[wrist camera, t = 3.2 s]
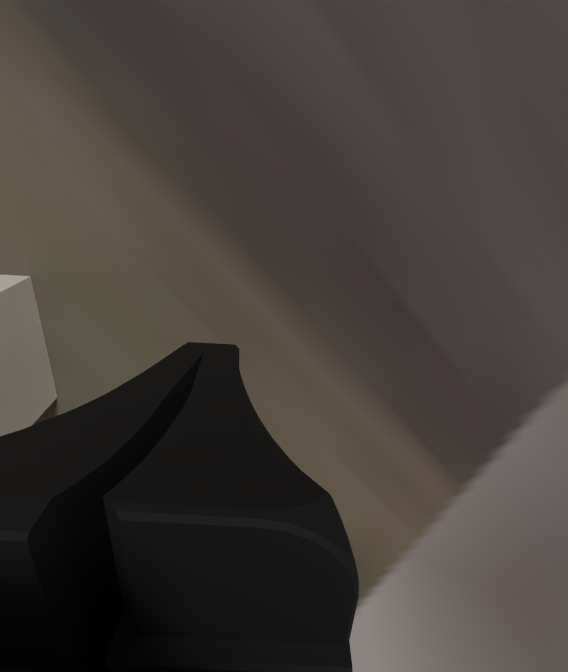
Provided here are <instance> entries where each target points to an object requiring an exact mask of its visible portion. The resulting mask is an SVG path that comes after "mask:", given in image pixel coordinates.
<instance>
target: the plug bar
mask: <svg viewBox="0 0 568 672" xmlns="http://www.w3.org/2000/svg"><path fill="white" fill-rule="evenodd" d="M56 398H57V394H56V390H55V385H54V381H53V376H52V372H51V367H50V363H49V358H48V354H47V349H46V345H45V340H44V336H43V331H42V327H41V322H40V318H39V313H38V309H37V304H36V299H35V295H34V290H33V286H32V281H31V277H30V276H14V275H0V436H3V435H6V434H9V433H12V432H15V431H19V430H21V429H24V428H27V427H30V426H32V425H33V424H34V423H35V422H36V420H37V419H38V418H39V417H40V416H41V415H42V414H43V413H44V412H45V410H46V409H47V408H48V407H49V406H50V405H51V404H52V403H53V402H54V401H55V399H56Z"/></svg>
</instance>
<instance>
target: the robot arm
mask: <svg viewBox="0 0 568 672" xmlns="http://www.w3.org/2000/svg"><path fill="white" fill-rule="evenodd" d="M358 590H359V584H358V573H357V568H356V564H355V560H354V556H353V553H352V549H351V546H350V543H349V539H348V536H347V533H346V531H345V528H344V525H343V523H342V520H341V518H340V515H339V513H338V510H337V508H336V506H335V503H334V501H333V499H332V497H331V495H330V494H329V493H328V492H327V491H326V490H324V489H323V488H322V487H321V486H319V485H318V484H317V483H316V482H315V481H313V480H312V479H311V478H310V477H308V476H307V475H306V474H305V473H303V472H302V471H301V470H300V469H299V468H298V467H297V466H296V465H295V464H294V463H293V462H292V461H291V460H290V459H289V457H288V456H287V455H286V454H285V453H284V451H283V450H282V449H281V448H280V447H279V445H278V444H277V443H276V442H275V441H274V439H273V438H272V437H271V435H270V434H269V432H268V431H267V430H266V428H265V427H264V425H263V424H262V422H261V420H260V418H259V417H258V415H257V413H256V412H255V410H254V408H253V406H252V404H251V402H250V399H249V397H248V395H247V392H246V390H245V387H244V384H243V381H242V378H241V375H240V371H239V348H238V347H237V346H236V345H230V344H213V343H195V342H188V343H186V344H185V345H183V346H181V347H180V348H178V349H177V350H176V351H174V352H173V353H171V354H170V355H168V356H167V357H165V358H164V359H162V360H161V361H159V362H158V363H156V364H155V365H153V366H152V367H150V368H149V369H147V370H146V371H144V372H143V373H141V374H139V375H138V376H136V377H134V378H133V379H131V380H129V381H128V382H126V383H124V384H123V385H121V386H119V387H118V388H116V389H114V390H112V391H110V392H109V393H107V394H105V395H103V396H101V397H99V398H97V399H95V400H93V401H91V402H88V403H86V404H84V405H82V406H80V407H78V408H76V409H73V410H71V411H69V412H66V413H64V414H61V415H58V416H56V417H53V418H51V419H48V420H45V421H43V422H40V423H38V424H35V425H32V426H30V427H27V428H24V429H21V430H19V431H15V432H12V433H9V434H6V435H3V436H0V672H352V661H351V653H350V644H349V638H350V634H351V629H352V624H353V620H354V615H355V610H356V605H357V601H358Z"/></svg>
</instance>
